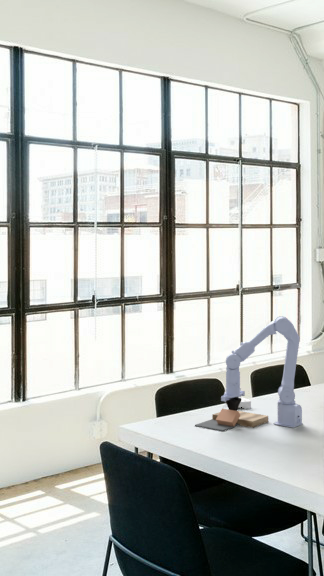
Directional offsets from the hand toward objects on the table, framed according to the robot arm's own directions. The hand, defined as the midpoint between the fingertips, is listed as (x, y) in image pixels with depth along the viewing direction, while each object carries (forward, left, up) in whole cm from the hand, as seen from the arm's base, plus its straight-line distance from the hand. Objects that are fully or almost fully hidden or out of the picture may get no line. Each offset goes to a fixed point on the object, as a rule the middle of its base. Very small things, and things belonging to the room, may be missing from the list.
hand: (233, 415), depth 280 cm
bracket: (+17, -29, -4) cm, 34 cm away
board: (0, -5, -3) cm, 6 cm away
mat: (+3, +7, -3) cm, 8 cm away
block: (0, +3, -1) cm, 3 cm away
